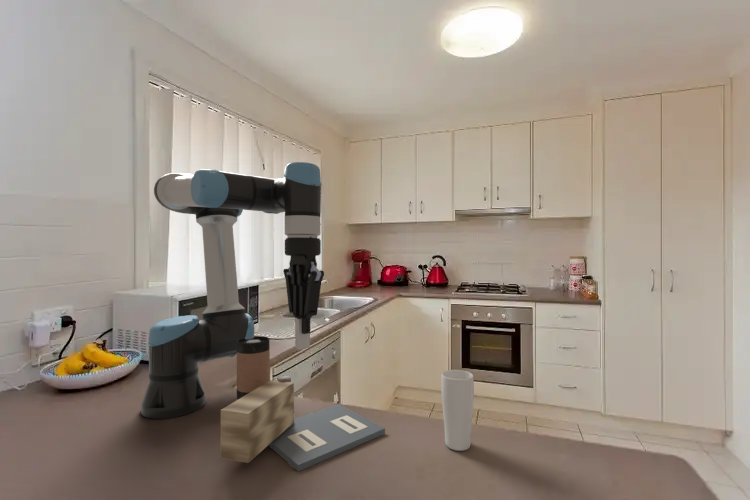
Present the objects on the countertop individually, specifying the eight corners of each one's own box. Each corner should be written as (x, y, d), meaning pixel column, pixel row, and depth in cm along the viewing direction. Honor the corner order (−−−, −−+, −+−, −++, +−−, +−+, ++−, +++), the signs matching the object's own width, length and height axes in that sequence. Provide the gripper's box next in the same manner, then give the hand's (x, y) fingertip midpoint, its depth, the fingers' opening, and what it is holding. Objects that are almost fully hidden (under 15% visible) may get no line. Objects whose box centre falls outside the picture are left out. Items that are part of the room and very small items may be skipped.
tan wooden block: (276, 414, 89) (276, 375, 89) (299, 417, 87) (299, 377, 87) (220, 457, 70) (220, 407, 70) (248, 462, 69) (248, 411, 69)
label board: (255, 434, 84) (255, 425, 84) (335, 407, 99) (335, 399, 99) (298, 471, 70) (298, 460, 70) (384, 433, 84) (384, 424, 84)
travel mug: (260, 431, 86) (260, 344, 86) (230, 428, 87) (229, 342, 87) (275, 417, 93) (275, 336, 93) (247, 414, 95) (247, 335, 95)
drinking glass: (453, 434, 84) (452, 367, 84) (480, 445, 79) (480, 374, 79) (435, 445, 79) (434, 374, 79) (462, 458, 74) (462, 382, 74)
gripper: (335, 236, 77) (334, 351, 77) (302, 238, 87) (302, 339, 87) (303, 235, 72) (302, 358, 72) (272, 237, 82) (272, 345, 82)
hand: (302, 348), depth 79 cm, fingers closed
